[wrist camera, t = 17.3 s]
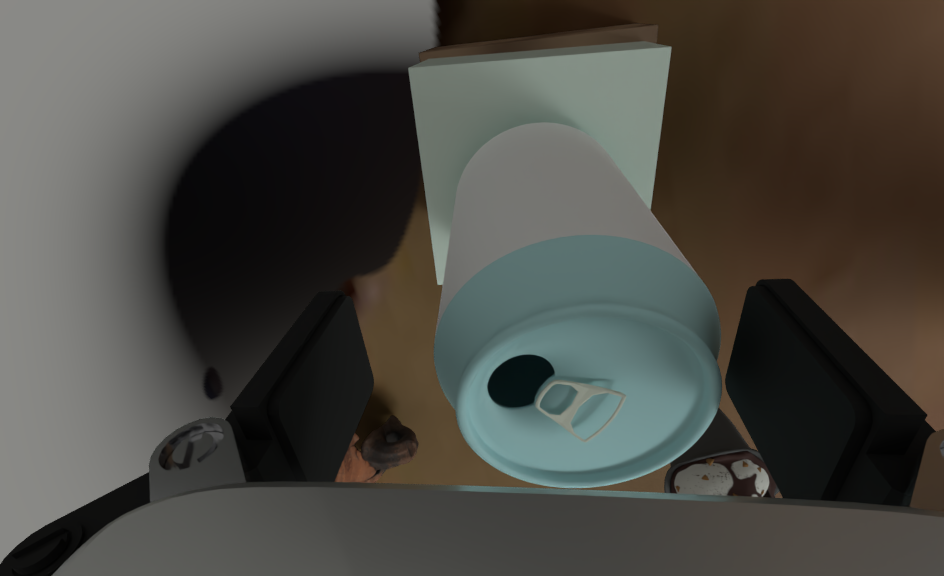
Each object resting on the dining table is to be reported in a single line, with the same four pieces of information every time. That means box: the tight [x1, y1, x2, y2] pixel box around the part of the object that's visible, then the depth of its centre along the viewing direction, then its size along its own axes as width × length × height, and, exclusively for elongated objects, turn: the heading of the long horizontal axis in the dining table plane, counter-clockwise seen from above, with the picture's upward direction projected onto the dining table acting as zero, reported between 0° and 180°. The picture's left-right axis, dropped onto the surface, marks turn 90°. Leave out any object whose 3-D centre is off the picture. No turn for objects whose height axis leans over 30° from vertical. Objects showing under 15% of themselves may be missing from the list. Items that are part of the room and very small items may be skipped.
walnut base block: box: [419, 23, 658, 63], centre depth 26 cm, size 11×11×5 cm
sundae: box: [664, 408, 779, 498], centre depth 30 cm, size 7×7×15 cm
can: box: [434, 122, 722, 488], centre depth 15 cm, size 7×7×12 cm
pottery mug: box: [334, 415, 418, 483], centre depth 40 cm, size 12×9×8 cm
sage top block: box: [408, 41, 672, 285], centre depth 22 cm, size 10×10×4 cm
